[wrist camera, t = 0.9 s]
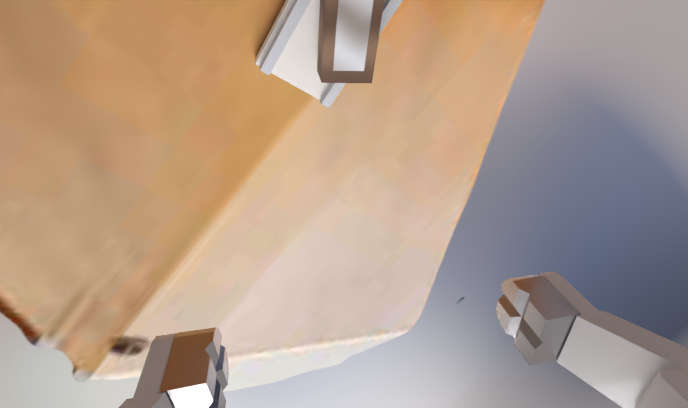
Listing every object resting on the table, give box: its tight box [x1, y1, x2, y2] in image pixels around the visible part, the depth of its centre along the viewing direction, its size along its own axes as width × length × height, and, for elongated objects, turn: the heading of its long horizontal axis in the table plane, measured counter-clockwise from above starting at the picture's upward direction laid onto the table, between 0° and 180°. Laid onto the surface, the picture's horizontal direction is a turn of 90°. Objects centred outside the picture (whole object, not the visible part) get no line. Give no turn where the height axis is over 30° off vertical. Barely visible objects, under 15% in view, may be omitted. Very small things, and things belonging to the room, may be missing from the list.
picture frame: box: [317, 0, 384, 83], centre depth 38 cm, size 14×6×4 cm, turn 174°
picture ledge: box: [255, 0, 403, 108], centre depth 40 cm, size 22×11×3 cm, turn 144°
